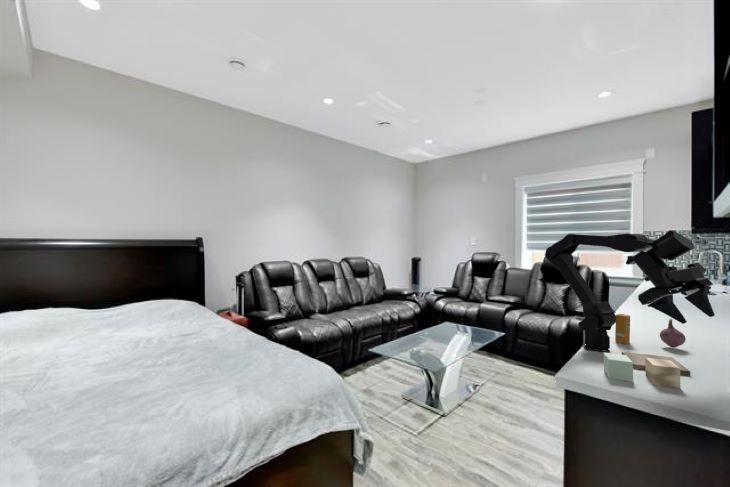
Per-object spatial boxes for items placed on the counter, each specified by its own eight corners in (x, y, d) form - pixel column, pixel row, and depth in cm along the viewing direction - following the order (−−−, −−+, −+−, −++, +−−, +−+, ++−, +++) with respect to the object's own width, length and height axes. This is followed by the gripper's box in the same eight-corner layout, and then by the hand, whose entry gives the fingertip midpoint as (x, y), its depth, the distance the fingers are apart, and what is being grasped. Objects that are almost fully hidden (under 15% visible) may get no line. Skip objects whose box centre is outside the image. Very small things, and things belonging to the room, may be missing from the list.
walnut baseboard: (632, 368, 89) (632, 364, 89) (621, 355, 100) (621, 351, 100) (690, 375, 84) (690, 371, 84) (671, 361, 94) (671, 357, 94)
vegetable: (655, 345, 110) (654, 316, 110) (675, 345, 109) (674, 317, 109) (669, 350, 104) (668, 320, 104) (690, 351, 103) (689, 321, 103)
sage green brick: (609, 378, 83) (608, 359, 83) (604, 370, 88) (603, 352, 88) (633, 381, 81) (632, 362, 81) (626, 373, 86) (626, 355, 86)
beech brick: (653, 384, 79) (653, 364, 79) (645, 376, 84) (645, 357, 84) (680, 388, 77) (680, 368, 77) (670, 379, 82) (670, 360, 82)
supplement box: (626, 344, 111) (625, 316, 111) (615, 341, 114) (614, 314, 114) (631, 343, 112) (630, 315, 113) (619, 340, 116) (619, 313, 116)
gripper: (651, 259, 83) (698, 314, 75) (707, 249, 86) (758, 300, 78) (621, 279, 92) (660, 330, 84) (672, 269, 95) (715, 317, 87)
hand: (698, 319), depth 83 cm, fingers open, 9 cm apart
